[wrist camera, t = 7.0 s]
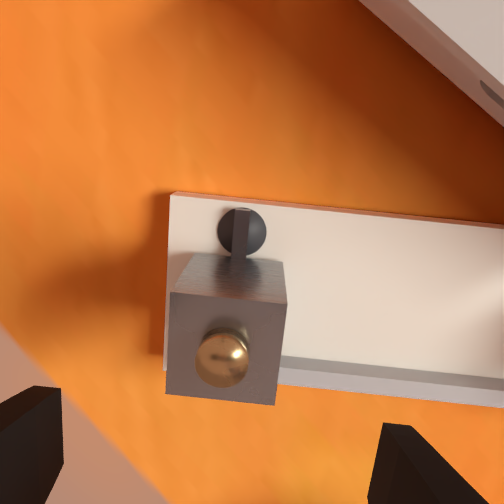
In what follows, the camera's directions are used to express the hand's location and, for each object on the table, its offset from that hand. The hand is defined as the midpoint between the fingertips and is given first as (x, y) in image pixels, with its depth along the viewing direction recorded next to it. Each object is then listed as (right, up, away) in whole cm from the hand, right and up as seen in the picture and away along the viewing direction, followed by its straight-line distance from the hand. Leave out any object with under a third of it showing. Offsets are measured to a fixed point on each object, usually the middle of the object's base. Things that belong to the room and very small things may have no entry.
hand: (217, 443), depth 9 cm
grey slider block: (0, +2, +8) cm, 8 cm away
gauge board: (+8, +2, +9) cm, 13 cm away
